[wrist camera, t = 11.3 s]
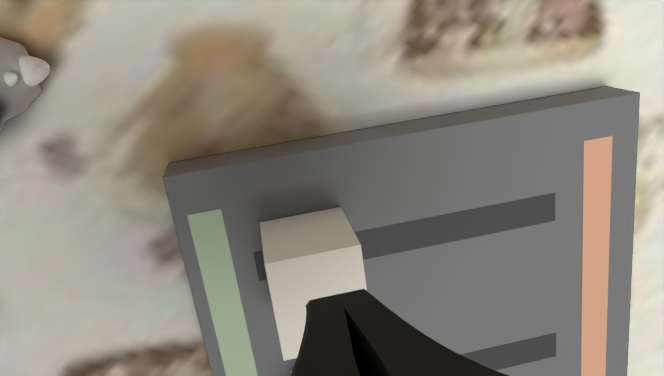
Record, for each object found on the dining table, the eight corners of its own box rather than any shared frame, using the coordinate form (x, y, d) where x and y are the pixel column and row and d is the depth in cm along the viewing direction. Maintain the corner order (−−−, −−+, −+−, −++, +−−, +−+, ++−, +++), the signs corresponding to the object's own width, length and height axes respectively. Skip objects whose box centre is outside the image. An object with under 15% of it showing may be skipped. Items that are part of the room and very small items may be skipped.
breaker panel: (263, 545, 27) (265, 585, 25) (169, 162, 21) (162, 177, 19) (597, 459, 29) (622, 490, 27) (606, 86, 23) (640, 92, 21)
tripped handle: (276, 306, 21) (283, 360, 18) (259, 222, 20) (264, 264, 16) (352, 290, 21) (373, 340, 18) (340, 207, 20) (360, 244, 17)
